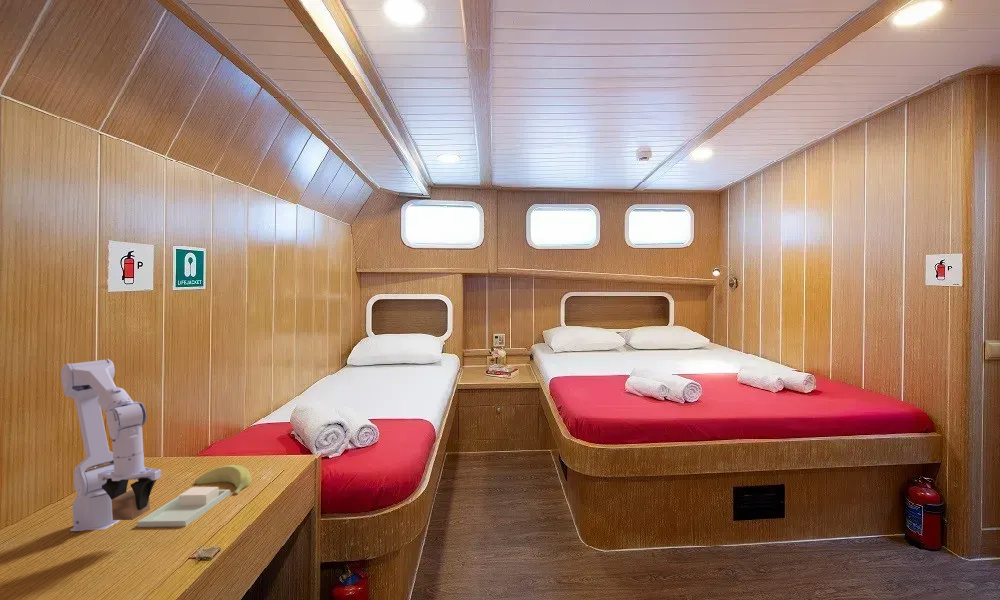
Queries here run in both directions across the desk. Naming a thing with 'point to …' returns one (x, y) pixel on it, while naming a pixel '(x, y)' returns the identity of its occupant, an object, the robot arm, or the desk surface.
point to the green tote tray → (178, 513)
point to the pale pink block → (198, 496)
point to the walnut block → (127, 507)
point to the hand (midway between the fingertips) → (131, 508)
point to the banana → (227, 476)
